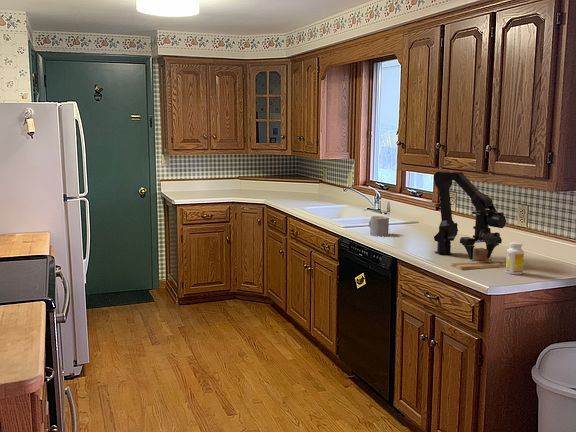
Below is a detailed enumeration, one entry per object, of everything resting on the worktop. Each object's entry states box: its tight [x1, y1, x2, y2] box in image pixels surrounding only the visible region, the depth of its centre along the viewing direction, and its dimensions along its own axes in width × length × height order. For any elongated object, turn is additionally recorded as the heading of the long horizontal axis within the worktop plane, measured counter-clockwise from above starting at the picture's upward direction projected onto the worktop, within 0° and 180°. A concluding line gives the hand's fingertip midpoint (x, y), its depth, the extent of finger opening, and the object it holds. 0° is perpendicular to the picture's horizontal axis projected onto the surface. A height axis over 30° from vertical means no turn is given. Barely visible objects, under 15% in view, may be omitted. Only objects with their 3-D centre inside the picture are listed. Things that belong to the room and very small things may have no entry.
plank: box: [450, 260, 501, 271], centre depth 260 cm, size 8×20×1 cm, turn 109°
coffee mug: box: [368, 215, 390, 237], centre depth 332 cm, size 13×10×10 cm
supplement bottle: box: [505, 241, 525, 276], centre depth 247 cm, size 7×7×13 cm
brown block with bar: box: [471, 247, 494, 263], centre depth 265 cm, size 10×5×6 cm, turn 19°
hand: (479, 259), depth 268 cm, fingers open, 9 cm apart
